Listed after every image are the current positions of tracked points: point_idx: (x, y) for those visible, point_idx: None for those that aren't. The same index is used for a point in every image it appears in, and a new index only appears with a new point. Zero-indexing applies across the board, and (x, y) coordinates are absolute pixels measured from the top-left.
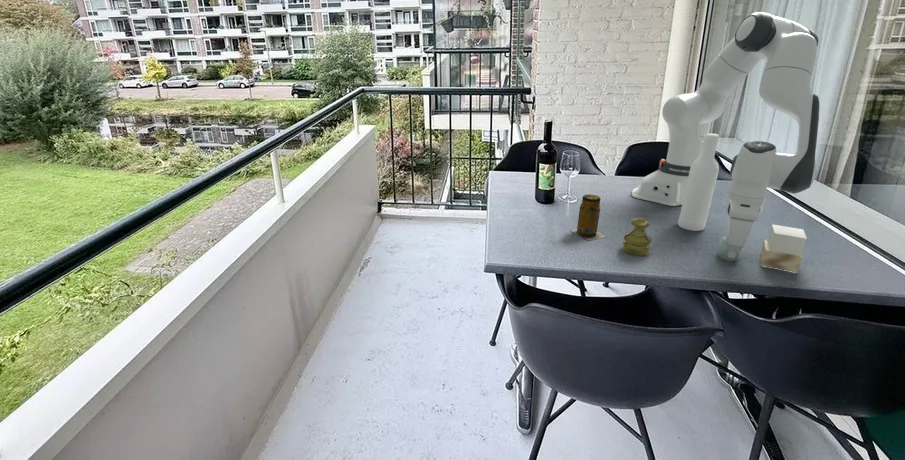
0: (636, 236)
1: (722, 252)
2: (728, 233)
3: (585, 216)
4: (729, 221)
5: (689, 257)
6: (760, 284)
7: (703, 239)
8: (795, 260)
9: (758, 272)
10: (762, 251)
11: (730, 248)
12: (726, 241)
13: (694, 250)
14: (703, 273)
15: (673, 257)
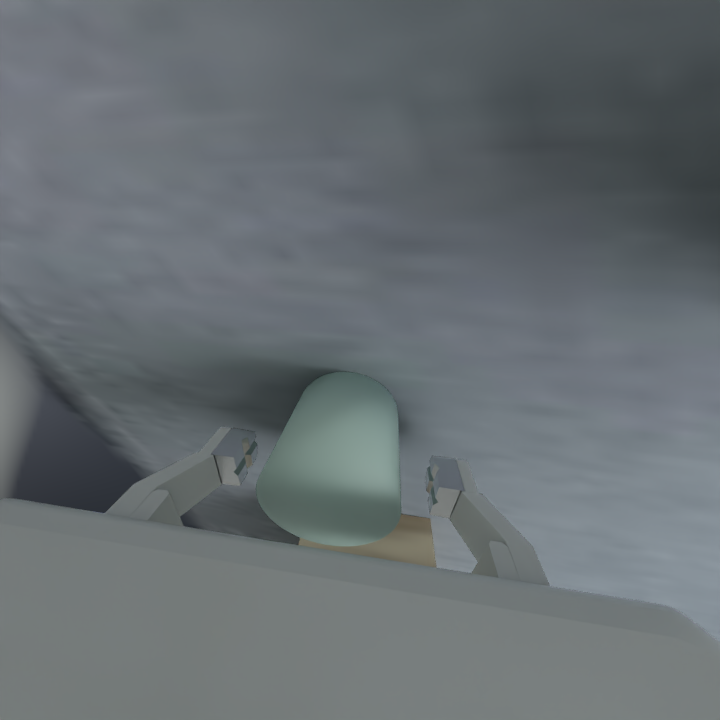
0: None
1: (298, 406)
2: (200, 565)
3: None
4: (622, 658)
5: (192, 197)
6: (148, 471)
7: (612, 311)
8: None
9: (247, 484)
10: (387, 551)
11: (163, 475)
12: (282, 475)
13: (348, 236)
14: (38, 285)
15: (87, 39)
